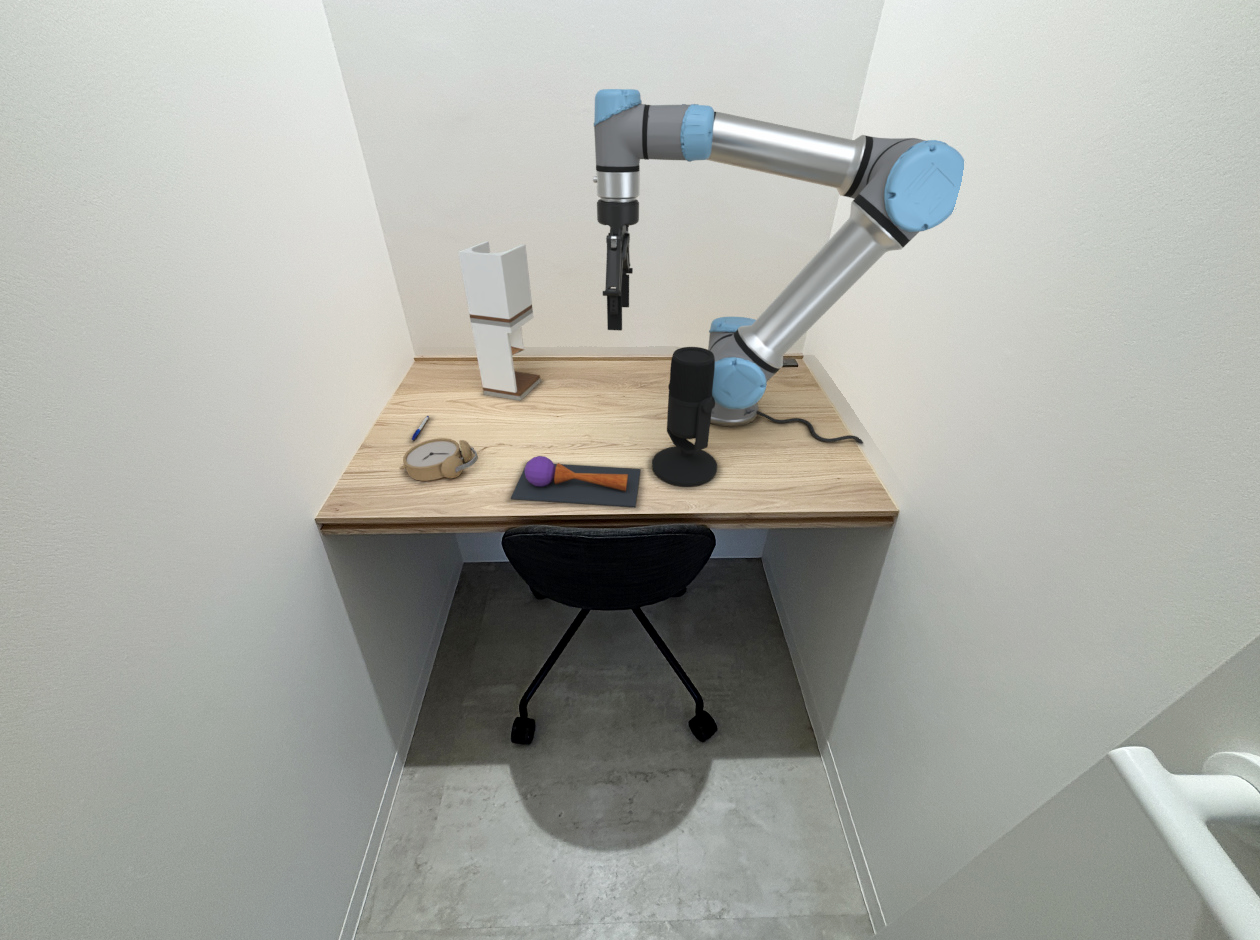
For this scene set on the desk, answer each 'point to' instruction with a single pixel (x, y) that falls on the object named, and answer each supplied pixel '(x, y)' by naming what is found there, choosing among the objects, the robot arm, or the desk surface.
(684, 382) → the microphone
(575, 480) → the mat
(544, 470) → the kendama
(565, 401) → the desk surface
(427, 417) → the ballpoint pen
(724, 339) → the robot arm
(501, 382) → the display case
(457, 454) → the alarm clock
